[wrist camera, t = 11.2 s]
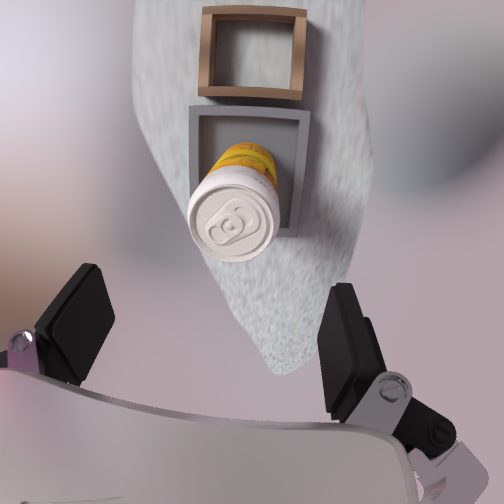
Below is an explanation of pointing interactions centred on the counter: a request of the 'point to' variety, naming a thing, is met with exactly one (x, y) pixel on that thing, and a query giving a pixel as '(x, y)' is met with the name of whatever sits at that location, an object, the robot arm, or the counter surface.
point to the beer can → (236, 205)
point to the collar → (251, 14)
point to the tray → (259, 132)
